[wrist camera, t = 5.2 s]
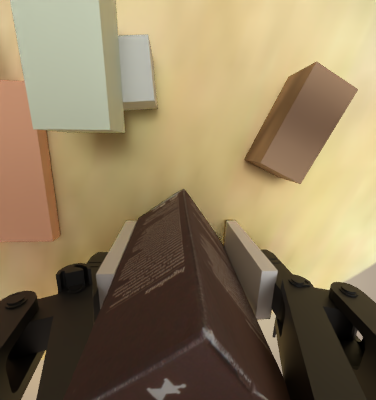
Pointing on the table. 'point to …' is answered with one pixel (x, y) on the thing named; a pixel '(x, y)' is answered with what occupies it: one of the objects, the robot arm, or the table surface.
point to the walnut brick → (300, 122)
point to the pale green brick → (71, 64)
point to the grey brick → (137, 73)
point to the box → (176, 321)
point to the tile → (24, 172)
